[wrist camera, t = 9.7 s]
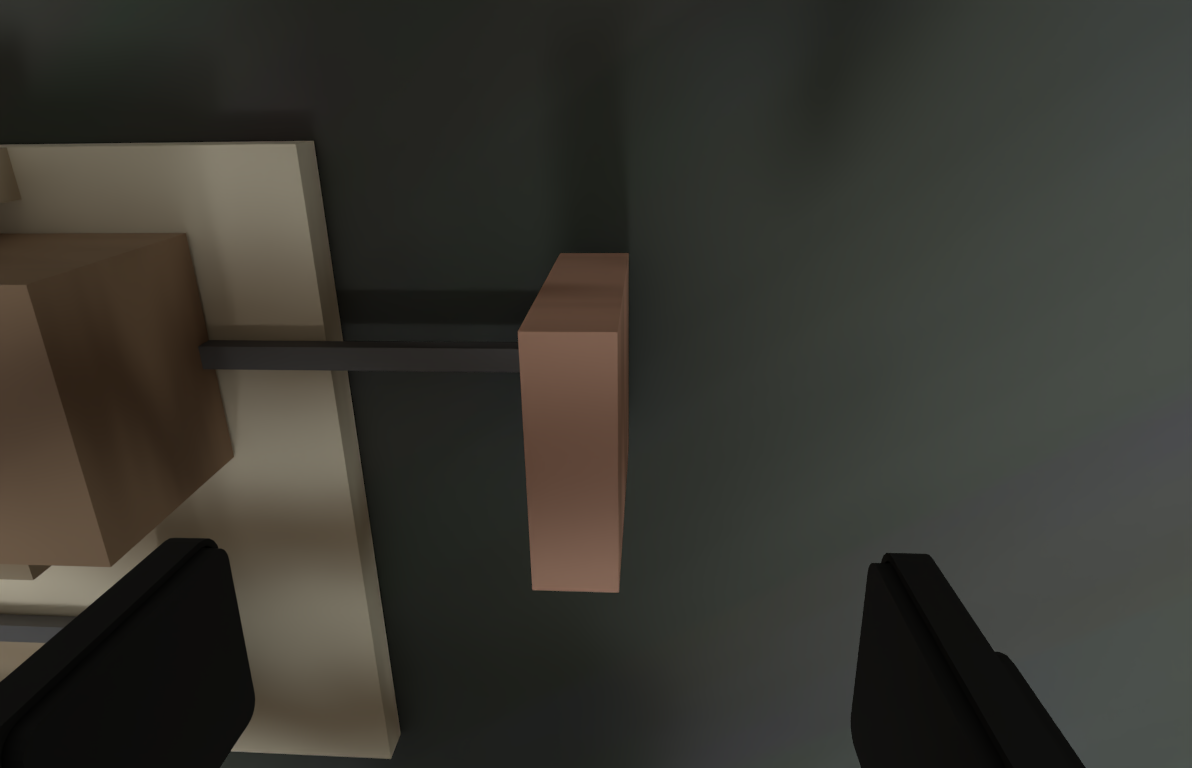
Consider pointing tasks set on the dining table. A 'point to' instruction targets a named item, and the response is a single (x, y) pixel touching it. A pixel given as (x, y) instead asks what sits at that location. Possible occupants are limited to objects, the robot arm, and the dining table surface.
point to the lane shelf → (242, 427)
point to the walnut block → (190, 387)
